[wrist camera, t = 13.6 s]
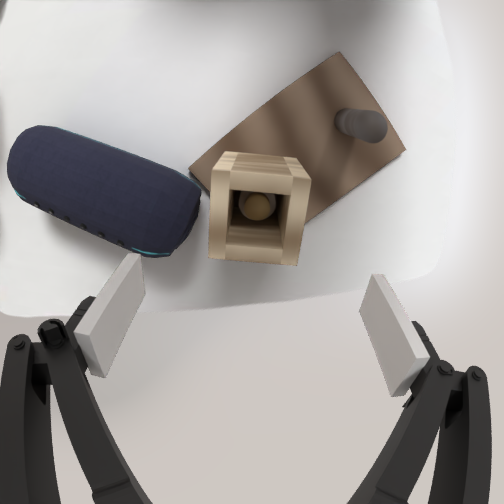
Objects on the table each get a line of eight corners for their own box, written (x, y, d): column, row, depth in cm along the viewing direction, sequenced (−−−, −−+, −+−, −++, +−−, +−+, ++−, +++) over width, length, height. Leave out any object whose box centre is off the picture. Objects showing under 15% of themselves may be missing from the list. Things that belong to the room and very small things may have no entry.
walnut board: (337, 52, 27) (363, 37, 19) (402, 148, 31) (440, 164, 24) (189, 166, 34) (168, 187, 26) (265, 248, 38) (266, 288, 30)
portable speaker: (39, 180, 34) (-5, 204, 25) (51, 115, 30) (2, 125, 21) (188, 244, 38) (168, 287, 30) (216, 175, 34) (201, 202, 25)
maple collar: (224, 151, 32) (211, 169, 23) (296, 158, 32) (311, 179, 23) (220, 217, 35) (208, 258, 27) (287, 223, 36) (296, 265, 27)
